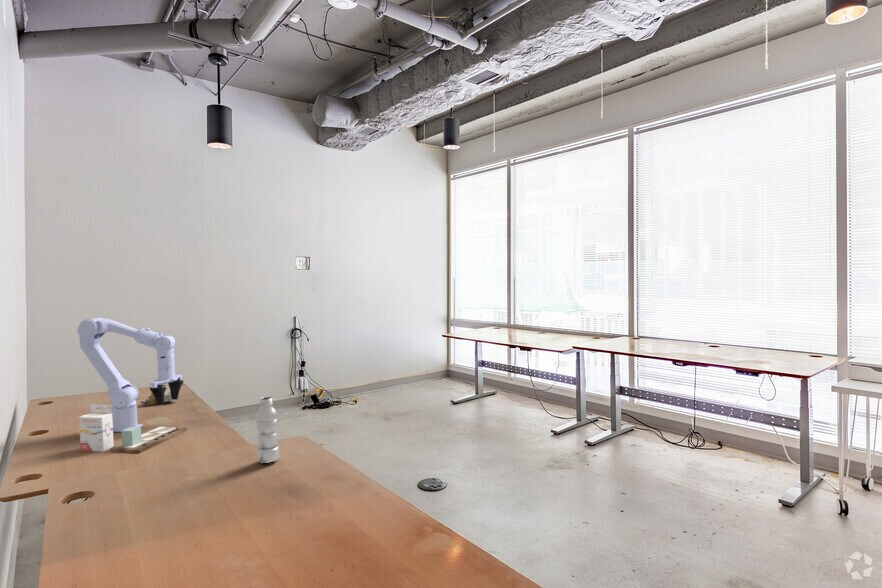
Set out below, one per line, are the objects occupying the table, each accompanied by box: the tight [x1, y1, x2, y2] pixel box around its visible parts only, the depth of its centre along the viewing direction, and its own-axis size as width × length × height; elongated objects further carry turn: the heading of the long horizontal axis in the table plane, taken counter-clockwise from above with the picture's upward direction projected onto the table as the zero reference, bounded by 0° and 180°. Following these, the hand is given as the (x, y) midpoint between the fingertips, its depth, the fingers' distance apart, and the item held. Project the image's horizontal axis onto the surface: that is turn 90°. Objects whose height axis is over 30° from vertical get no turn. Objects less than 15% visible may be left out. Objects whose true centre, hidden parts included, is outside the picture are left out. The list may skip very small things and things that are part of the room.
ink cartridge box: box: [78, 403, 115, 453], centre depth 164 cm, size 9×5×15 cm, turn 84°
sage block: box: [120, 426, 142, 446], centre depth 166 cm, size 4×4×5 cm
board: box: [109, 425, 188, 454], centre depth 173 cm, size 11×23×1 cm, turn 170°
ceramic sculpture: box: [140, 384, 180, 405], centre depth 222 cm, size 11×9×15 cm
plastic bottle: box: [255, 396, 280, 463], centre depth 151 cm, size 6×7×20 cm
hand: (167, 402), depth 188 cm, fingers open, 7 cm apart
